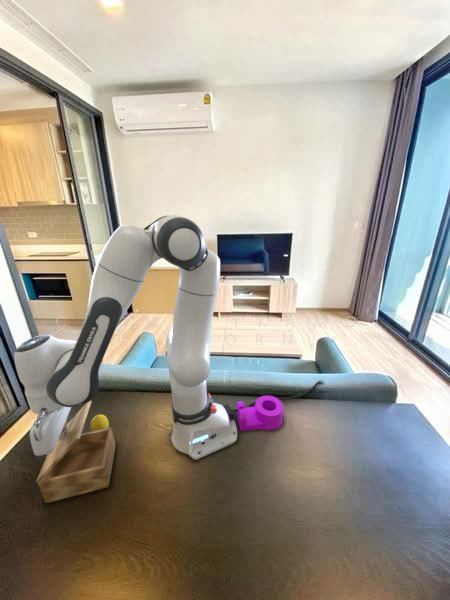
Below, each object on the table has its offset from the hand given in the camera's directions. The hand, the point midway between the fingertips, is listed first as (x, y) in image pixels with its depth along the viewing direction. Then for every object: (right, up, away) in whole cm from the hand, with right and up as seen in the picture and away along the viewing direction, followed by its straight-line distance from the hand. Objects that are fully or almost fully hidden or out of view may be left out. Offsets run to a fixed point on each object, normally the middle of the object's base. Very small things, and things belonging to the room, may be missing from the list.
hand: (63, 436), depth 68 cm
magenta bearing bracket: (+58, -7, +23) cm, 62 cm away
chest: (+3, -14, +6) cm, 15 cm away
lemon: (+2, -9, +18) cm, 20 cm away
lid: (+1, -1, +1) cm, 1 cm away
